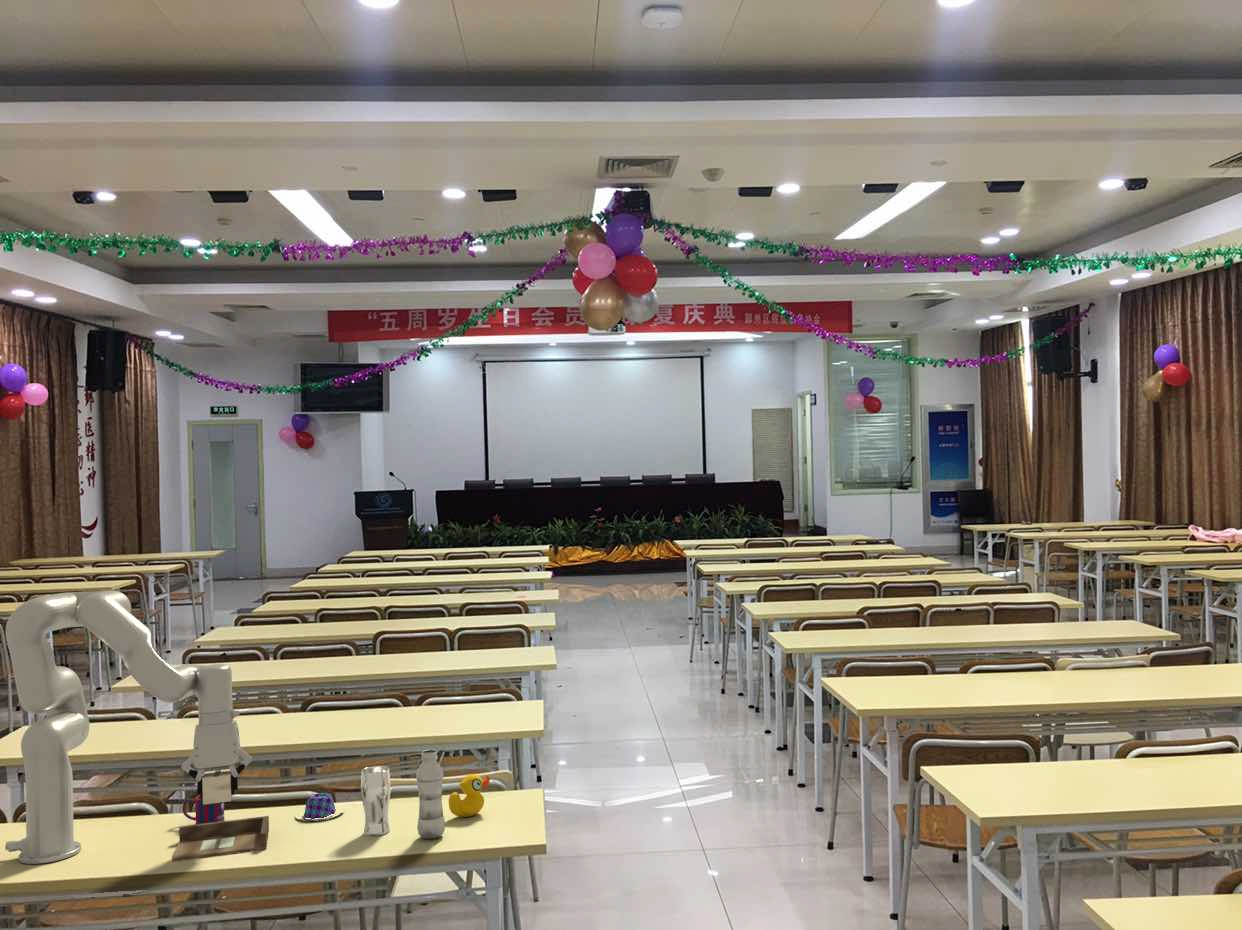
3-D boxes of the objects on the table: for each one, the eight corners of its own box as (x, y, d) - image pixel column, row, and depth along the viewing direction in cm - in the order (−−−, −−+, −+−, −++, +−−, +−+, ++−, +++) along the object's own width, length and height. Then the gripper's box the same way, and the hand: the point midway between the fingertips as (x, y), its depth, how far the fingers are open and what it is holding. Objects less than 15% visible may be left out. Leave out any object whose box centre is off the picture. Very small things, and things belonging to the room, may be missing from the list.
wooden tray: (172, 861, 223) (172, 845, 223) (180, 841, 237) (179, 826, 237) (266, 849, 229) (266, 833, 229) (268, 830, 243) (268, 815, 243)
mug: (216, 827, 246) (216, 799, 247) (177, 828, 247) (177, 800, 247) (229, 819, 253) (228, 792, 253) (191, 819, 254) (191, 792, 254)
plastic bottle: (450, 833, 236) (448, 748, 237) (437, 843, 230) (435, 755, 230) (425, 831, 238) (423, 747, 239) (412, 841, 231) (410, 754, 232)
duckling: (485, 808, 255) (484, 768, 255) (495, 813, 251) (494, 773, 251) (445, 817, 248) (444, 777, 249) (455, 822, 244) (453, 781, 244)
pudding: (354, 811, 257) (353, 791, 257) (322, 826, 246) (321, 804, 246) (317, 807, 262) (317, 787, 262) (285, 821, 251) (284, 800, 251)
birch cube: (205, 797, 235) (204, 771, 235) (232, 794, 236) (232, 768, 237) (202, 804, 229) (202, 777, 229) (230, 801, 231) (230, 774, 231)
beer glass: (381, 838, 234) (379, 774, 235) (356, 835, 236) (354, 772, 237) (397, 828, 241) (395, 766, 241) (372, 826, 243) (371, 764, 244)
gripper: (255, 711, 239) (257, 786, 239) (178, 718, 234) (180, 795, 234) (253, 717, 232) (256, 794, 232) (173, 725, 227) (175, 804, 226)
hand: (217, 794), depth 233 cm, fingers closed on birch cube, 6 cm apart
